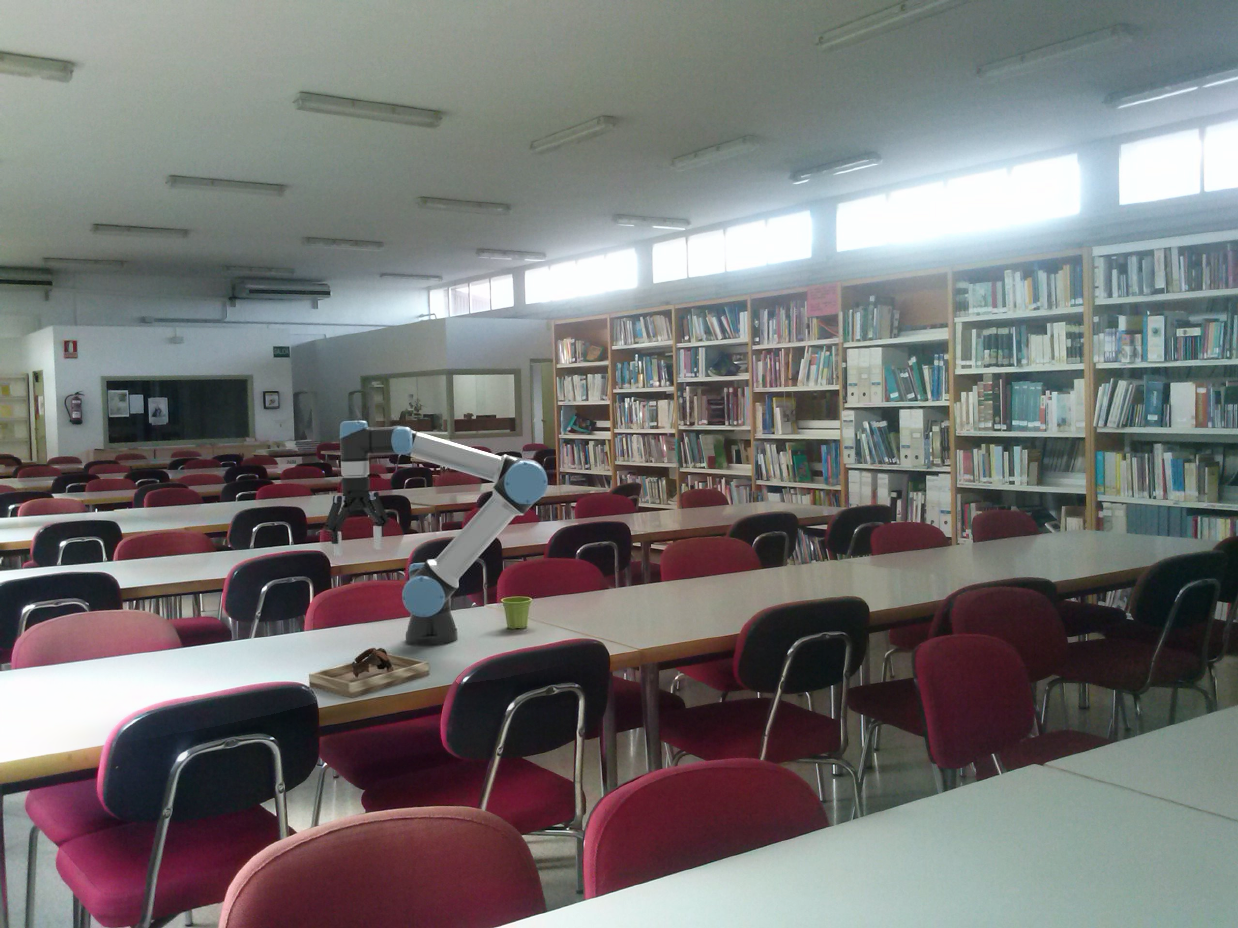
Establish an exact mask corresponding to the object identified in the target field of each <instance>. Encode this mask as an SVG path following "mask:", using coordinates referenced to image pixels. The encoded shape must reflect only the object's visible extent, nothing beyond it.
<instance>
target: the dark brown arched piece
mask: <svg viewBox="0 0 1238 928" xmlns="http://www.w3.org/2000/svg"><path fill="white" fill-rule="evenodd" d="M387 653H388V652H387V651H386V649H385V648H383V647H379V648H376V647H371V648H368V649H366V650H364V651H363V652H361V653H360V654H358V655H357V657H355V658H354V661H352V662H353V663H352V664H351V666H352V667H353V674H355V676H356V677H358V675H359V673H362V672H365V671H366V672H369V664H371V665H376V666H377V668H378V669H385V668H387V672H392V671H394V670H393V667H392V665H391V662H390V660H389V658H388V657H387ZM364 659H365V660H364ZM362 660H364V661H362ZM361 661H362V662H361ZM355 662H356V664H355Z"/></svg>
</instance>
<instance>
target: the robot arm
mask: <svg viewBox="0 0 1238 928" xmlns="http://www.w3.org/2000/svg"><path fill="white" fill-rule="evenodd" d="M338 439H339V447H340V448H339V449H340V469H341V470H340V472H341V474H340V475H341V476H343V477H342V478H341V491H342V493H343V494H342V495H333V496H332V505H331V508H330V510H329V512H328V515H327V518H326V521H325V524H324V526H323V529H324V531H327V532H329V533H330V538H331V539H330V542H331V544H333V556H337V557H341V556H343V546H342V545H343V543H342V532H341V531H339V530H340V529H342V526H343V524H344V523H345V521H346V520H347V517H348V516H349V515H350V513H351V512H353V511H358V510H363V511H364V512H365V513H366V515H367V516H368V517H369V518H370V519H371V521H372V522H373V523H374V524H375V525H373V526H372V527H373V529H372V530H373V533H372V534H373V549H374V550H383V537H384V527H385V526H386V525H387V524H389V522H390V519H389V517H388V515H387V513H386V510H385V509H384V506H383V504H382V501H381V500H380V494H379V491H370V488H371V487H370V486H371V482H370V480H371V479H370V477H369V476H368V475H370V460H369V456H370V455H405V456H408V457H411V458H415V459H418V460H421V461H424V462H428V463H432V464H435V465H438V466H441V467H445V468H448V469H451V470H455V471H457V472H461V473H465V474H468V475H471V476H474V477H477V478H481V479H484V480H488V481H491V482H493V483H494V486H493V487H492V495H491V496H490V498H489V499H488V500H487V501H486V502H485V503H484V505H483V506H482V507H481V508H480V509H479V510H478V511H477V512H476V514H475V515H473V517H472V518H471V519H470V520H469V521H468V522H467V523H466V525H464V527H463V528H462V529H461V530H460V531H459V532H458V534H457V535H456V536H455V537H454V538H453V539H452V540H451V541H450V542H449V543H448V545H447V546H445V548H444V549H443V550H442V551H441V552H440V553H439V555H438V556H437V557H435V558H434V559H433V558H431V559H429V558H428V559H427V560H426V561H425V562H418V563H412V564H410V565H409V569H408V575H409V578H408V579H409V580H407V581H406V582H405V584H404V586H403V587H402V592H401V595H402V596H401V599H402V602H403V605H404V607H405V609H406V611H408V612H409V613H410V618H409V621H408V625H407V629H406V632H405V642H406V644H409V645H414V646H435V645H437V646H438V645H444V644H448V643H452V642H455V641H456V640H458V628H457V627H456V624H455V620H454V617H453V615H452V609H451V608H452V605H451V596H452V595H453V594H454V593H455V591H457V589H458V588H459V580H460V578H461V577H462V576H463V575H464V574H465V572H467V570H468V569H469V568H470V567H471V566H472V565H473V564H474V563H475V561H476V560H478V558H479V557H480V556H481V555H482V553H484V551H485V550H486V549H487V548H488V547H490V545H491V543H493V541H494V540H495V539H496V538H497V537H498V536H499V534H501V532H502V531H503V530H504V529H505V528H506V527H507V526H508V525H509V524H510V523H511V522H512V520H513V519H514V518H515V517H516V516H524V515H525V514H526V513H527V512H528V510H530V508H531V507H532V506H533V505H534V504H535V503H536V502H537V501H539V500H540V499H541V498H542V497H543V496H544V495H545V494H546V492H547V488H548V484H549V483H548V481H549V480H548V475H547V473H546V470H545V469H544V467H543V465H542V464H540V463H539V462H538V461H536V460H535V459H529V458H524V457H523V458H522V457H517V456H514V455H513V456H512V455H510V454H509V455H508V454H503V455H501V456H500V455H497V454H494V453H491V452H487V451H483V450H480V449H477V448H473V447H470V446H467V445H463V444H459V443H456V442H453V441H449V440H447V439H443V438H439V437H437V436H436V437H435V436H432V435H430V434H427V433H423V432H418V431H415V430H413V429H411V428H410V426H402V425H393V426H384V427H383V426H382V427H370V426H369V425H368V422H367V420H347V421H346V420H344V421H342V422H341V423H340V425H339V437H338ZM369 500H370V501H371V503H370V502H369ZM342 504H343V505H342Z"/></svg>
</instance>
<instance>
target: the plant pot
mask: <svg viewBox="0 0 1238 928" xmlns="http://www.w3.org/2000/svg"><path fill="white" fill-rule="evenodd" d="M532 600H533V599H532V598H531V597H528V596H510V597H504V598H501V599H500V601H501V603H502V606H503V608H504V613H505V614H504V615H505V620H506V626H507V628H508V629H512V630H515V629H517V628H518V629H524V628H527V627H528V620H529V613H530V612H529V611H530V606H531V603H532Z"/></svg>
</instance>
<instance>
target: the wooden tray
mask: <svg viewBox="0 0 1238 928" xmlns="http://www.w3.org/2000/svg"><path fill="white" fill-rule="evenodd" d="M387 657H388V658H389V660H390V662H391V665H392V667H393V670H394V671H392V672H387V668H385V669H378V668H377V666H376V665H371V664H369V672H366V671H365V672H362V673H359V675H358V677H356V676H355V674H353V667H352V666H351V664H352V663H353V662H355V661H352V662H348V663H344V664H339V665H336V666H334V667H329V668H326V669H325V668H324V669H322V670H318V671H315V672H314V671H313V672H310V673H308V680H309V681H308V683H309V687H310V688H315V689H318V690H320V691H321V690H322V691H326V692H329V693H333V694H336V693H337V694H336V695H340V694H341V696H344V697H347V696H348V698H351V697H353V698H356V697H359V696H362V694H363V695H365V693H366V694H369V693H372V692H375V691H379V690H382V689H386V688H389V687H392V686H395V685H399V684H402V682H403V683H406V682H409V681H412V680H416V679H418V678H419V679H420V678H422V677H426V676H429V675H430V662H429V661H426V660H425V661H424V660H420V659H415V658H411V657H406V656H402V655H396V654H392V653H388V652H387ZM365 659H366V658H365ZM365 659H364V660H365ZM364 660H362V661H364ZM362 661H361V662H362ZM355 664H356V662H355ZM358 695H359V696H358ZM355 696H356V697H355Z"/></svg>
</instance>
